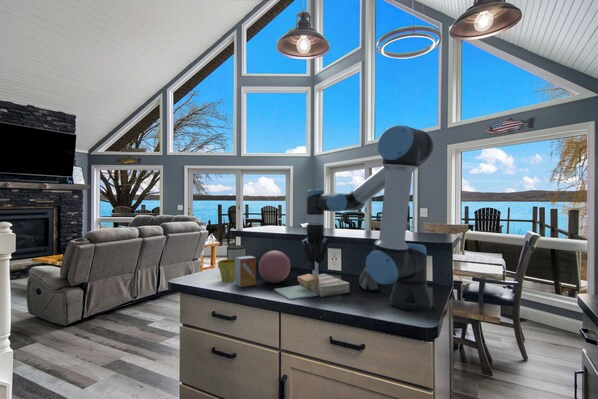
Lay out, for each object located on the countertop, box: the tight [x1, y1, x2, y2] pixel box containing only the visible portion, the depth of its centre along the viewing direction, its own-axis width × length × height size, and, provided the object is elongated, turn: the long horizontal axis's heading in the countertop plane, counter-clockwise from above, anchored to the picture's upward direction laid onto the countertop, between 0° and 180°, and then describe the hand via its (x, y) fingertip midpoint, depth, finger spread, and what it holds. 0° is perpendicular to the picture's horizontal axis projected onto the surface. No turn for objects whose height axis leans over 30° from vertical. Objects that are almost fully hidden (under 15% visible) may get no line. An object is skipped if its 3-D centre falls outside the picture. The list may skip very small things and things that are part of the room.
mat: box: [273, 284, 319, 301], centre depth 138 cm, size 16×13×1 cm
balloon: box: [258, 249, 291, 284], centre depth 158 cm, size 15×20×15 cm
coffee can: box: [226, 244, 246, 259], centre depth 181 cm, size 10×10×14 cm
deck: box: [299, 273, 350, 298], centre depth 144 cm, size 20×14×4 cm
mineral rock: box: [358, 267, 378, 291], centre depth 148 cm, size 13×11×10 cm
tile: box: [296, 273, 319, 286], centre depth 141 cm, size 9×6×2 cm, turn 26°
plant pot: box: [217, 258, 235, 283], centre depth 160 cm, size 10×10×10 cm
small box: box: [234, 255, 257, 288], centre depth 152 cm, size 8×6×13 cm
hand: (315, 277), depth 143 cm, fingers closed
